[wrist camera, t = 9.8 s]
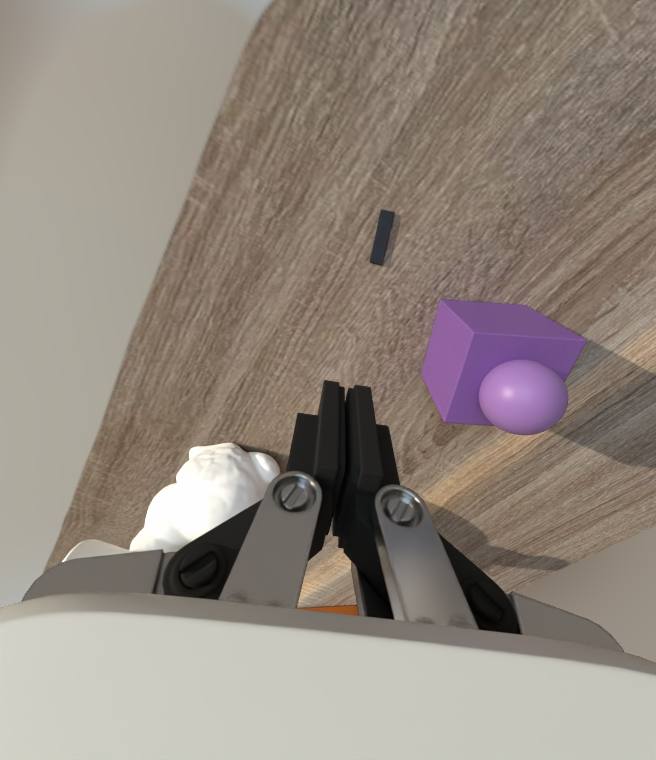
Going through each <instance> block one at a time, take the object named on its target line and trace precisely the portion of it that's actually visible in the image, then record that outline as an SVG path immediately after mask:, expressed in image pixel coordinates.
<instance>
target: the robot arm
mask: <svg viewBox="0 0 656 760" xmlns="http://www.w3.org/2000/svg"><path fill="white" fill-rule="evenodd" d="M332 518H333V536H338V548H344V553H345V554H346V555H347V557H348V558H349V559H350V560H351V561H352V562H351V571H352V577H353V584H354V590H355V596H356V602H357V608H358V614H359V616H357V615H348V614H339V613H330V612H322V611H313V610H304V609H297V604H298V600H299V596H300V592H301V588H302V583H303V579H304V575H305V571H306V567H307V562H308V561H309V560H310V559H311V558H312V557H313V556H315V555H316V554H317V553H318V552H319V551H321V550H322V547H323V543H324V540H325V536H326V535H328V533H329V529H330V526H331V522H332ZM0 760H656V663H655V662H652V661H649V660H647V659H644V658H642V657H639V656H635V655H632V654H628V653H625V652H624V650H623V649H622V647H621V646H620V645H619V644H618V642H617V641H616V640H615V639H614V638H613V637H612V635H611V634H609V633H608V632H607V631H606V630H605V629H603V628H602V627H601V626H600V625H598V624H596V623H594V622H593V621H591V620H589V619H586V618H583V617H581V616H578V615H575V614H573V613H570V612H567V611H564V610H562V609H559V608H556V607H554V606H551V605H548V604H545V603H542V602H540V601H537V600H534V599H532V598H529V597H526V596H523V595H521V594H518V593H515V592H513V591H512V592H511V593H510V594H506V593H504V591H503V590H502V589H501V588H500V587H499V586H498V585H497V584H496V583H495V582H494V581H493V580H492V579H491V578H489V577H488V576H487V575H486V574H485V573H484V572H482V571H481V570H480V569H479V568H478V567H477V566H476V565H474V564H473V563H472V562H471V561H470V560H469V559H468V558H466V557H465V556H464V555H463V554H462V553H461V552H460V551H458V550H457V549H456V548H455V547H454V546H453V545H452V544H450V543H449V542H448V541H447V540H446V539H445V538H443V537H442V536H441V535H440V534H439V533H438V532H437V530H436V527H435V525H434V523H433V520H432V518H431V515H430V513H429V511H428V508H427V506H426V505H425V503H424V501H423V500H422V499H421V497H420V496H419V495H418V494H417V493H415V492H414V491H412V490H411V489H409V488H407V487H404V486H402V485H400V482H399V477H398V472H397V467H396V462H395V457H394V452H393V447H392V442H391V437H390V432H389V428H388V426H385V425H378V424H376V421H375V414H374V407H373V400H372V393H371V388H370V387H366V386H360V385H355V386H354V389H353V388H349V389H348V392H347V396H346V401H345V388H344V387H340V386H339V382H333V381H327V380H324V383H323V389H322V394H321V400H320V406H319V411H318V416H317V415H310V414H303V413H298V414H297V419H296V424H295V429H294V434H293V439H292V445H291V450H290V455H289V460H288V465H287V470H286V472H284V473H282V474H279V475H278V476H276V477H275V478H274V479H273V480H272V481H271V483H270V484H269V486H268V488H267V490H266V492H265V495H264V497H263V499H262V500H260V501H258V502H257V503H255V504H253V505H252V506H250V507H248V508H247V509H245V510H243V511H241V512H240V513H238V514H236V515H235V516H233V517H231V518H230V519H228V520H226V521H225V522H223V523H221V524H220V525H218V526H216V527H215V528H213V529H211V530H210V531H208V532H206V533H205V534H203V535H201V536H200V537H198V538H196V539H195V540H193V541H191V542H190V543H188V544H186V545H185V546H184V547H182V548H181V549H180V550H178V551H176V552H167V553H164V551H163V549H159V550H150V551H141V552H131V553H122V554H113V555H104V556H95V557H86V558H77V559H72V560H68V561H64V562H61V563H59V564H58V565H56V566H54V567H52V568H50V569H48V570H47V571H46V572H45V573H43V574H42V575H41V576H40V577H39V578H38V579H36V580H35V581H34V583H33V584H32V585H31V587H30V588H29V590H28V591H27V592H26V594H25V596H24V597H23V600H22V601H21V602H18V603H15V604H12V605H8V606H6V607H2V608H0Z"/></svg>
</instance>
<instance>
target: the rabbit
mask: <svg viewBox="0 0 656 760" xmlns="http://www.w3.org/2000/svg"><path fill="white" fill-rule="evenodd" d="M189 455H190V460H189V461H187V462H186V463H185V464H184V465H183V466H182V468H181V469H180V471H179V472H178V474H177V478H176V480H177V483H174V484H171V485H168V486H167V487H165V488H163V489H162V490H161V491H160V492H159V493H158V494H157V495H156V496H155V497H154V499H153V500H152V502H151V504H150V506H149V508H148V512H147V515H146V520H145V527H144V529H142V530H141V531H140V532H139V533H138V535H137V536H136V537H135V538H134V539H133V541H132V543H131V546H130V550H126V549H123V548H120V547H117V546H114V545H111V544H108V543H105V542H103V541H100V540H95V539H90V540H85V541H82V542H80V543H79V544H78V545H76V546H75V547H74V548H73V549H72V550H71V551H70V552H69V554H68V555H67V556H66V557H65V559H64V560H63V561H62V562H64V561H68V560H72V559H77V558H86V557H95V556H104V555H113V554H122V553H131V552H141V551H150V550H159V549H163V551H164V553H167V552H176V551H178V550H180V549H181V548H182V547H184V546H185V545H186V544H188V543H190V542H191V541H193V540H195V539H196V538H198V537H200V536H201V535H203V534H205V533H206V532H208V531H210V530H211V529H213V528H215V527H216V526H218V525H220V524H221V523H223V522H225V521H226V520H228V519H230V518H231V517H233V516H235V515H236V514H238V513H240V512H241V511H243V510H245V509H247V508H248V507H250V506H252V505H253V504H255V503H257V502H258V501H260V500H262V499H263V497H264V495H265V492H266V490H267V488H268V486H269V484H270V483H271V481H272V480H273V479H274V478H275V477H276V476H278V475H279V474H280V468H279V466H278V464H277V462H276V461H275V460H274V459H273V458H272V457H271V456H269V455H267V454H264V453H260V452H245V451H244V450H242V449H241V448H240V447H239V446H238V445H237V444H234V443H222V444H217V445H211V446H196V447H193V448H191V450H190V451H189Z"/></svg>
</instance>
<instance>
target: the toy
mask: <svg viewBox="0 0 656 760" xmlns="http://www.w3.org/2000/svg"><path fill="white" fill-rule="evenodd" d="M586 341H587V340H586V339H584V338H582V337H581V336H579V335H577V334H575V333H574V332H572V331H570V330H568V329H567V328H565V327H563V326H561V325H560V324H558V323H556V322H554V321H553V320H551V319H549V318H547V317H546V316H544V315H542V314H540V313H539V312H537V311H535V310H533V309H532V308H530V307H528V306H526V305H515V304H501V303H487V302H472V301H458V300H444V299H441V300H440V302H439V306H438V310H437V314H436V318H435V322H434V326H433V330H432V334H431V337H430V341H429V345H428V349H427V353H426V357H425V361H424V365H423V369H422V373H421V375H422V377H423V380H424V382H425V384H426V386H427V388H428V390H429V392H430V394H431V396H432V398H433V401H434V403H435V405H436V407H437V409H438V411H439V413H440V415H441V417H442V420H443V422H445V423H458V424H473V425H489V426H496V427H498V428H499V429H501V430H503V431H506V432H509V433H512V434H517V435H533V434H537V433H541V432H544V431H546V430H548V429H550V428H551V427H553V426H554V425H555V424H557V423H558V422H559V421H560V419H561V418H562V417H563V415H564V413H565V411H566V408H567V405H568V392H567V388H566V386H565V384H564V382H565V380H566V379H567V377H568V375H569V373H570V371H571V369H572V367H573V366H574V364H575V362H576V360H577V358H578V356H579V354H580V353H581V351H582V349H583V347H584V345H585V343H586Z"/></svg>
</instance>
